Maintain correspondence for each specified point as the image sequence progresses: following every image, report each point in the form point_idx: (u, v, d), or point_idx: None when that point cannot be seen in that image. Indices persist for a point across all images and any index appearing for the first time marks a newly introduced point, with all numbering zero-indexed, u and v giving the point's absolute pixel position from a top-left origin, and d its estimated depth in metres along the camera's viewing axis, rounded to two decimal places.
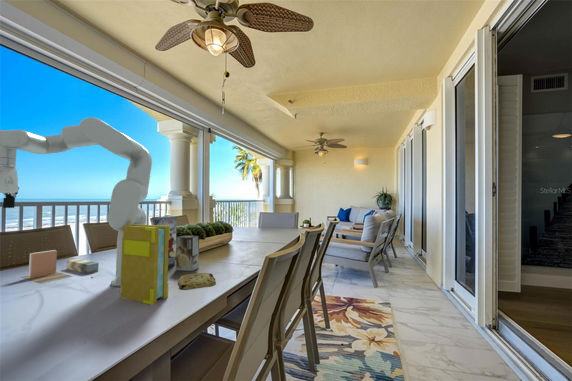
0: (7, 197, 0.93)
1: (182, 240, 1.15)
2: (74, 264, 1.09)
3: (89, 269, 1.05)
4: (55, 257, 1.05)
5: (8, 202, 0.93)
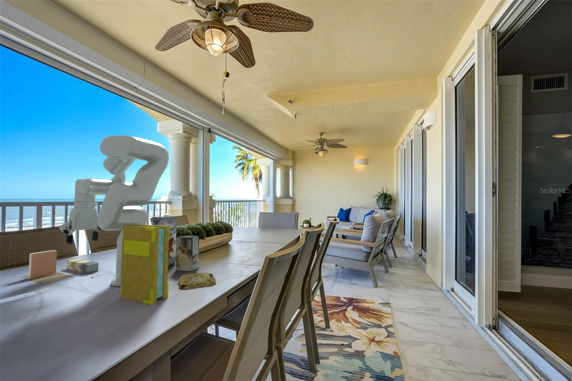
0: None
1: (182, 240, 1.15)
2: (74, 264, 1.09)
3: (89, 269, 1.05)
4: (55, 257, 1.05)
5: None
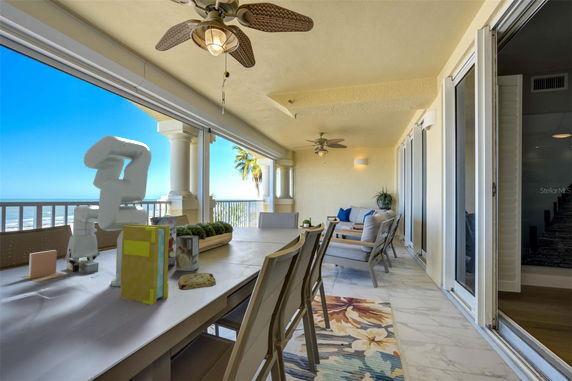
0: (77, 263, 1.08)
1: (182, 240, 1.15)
2: None
3: (89, 269, 1.05)
4: (55, 257, 1.05)
5: None
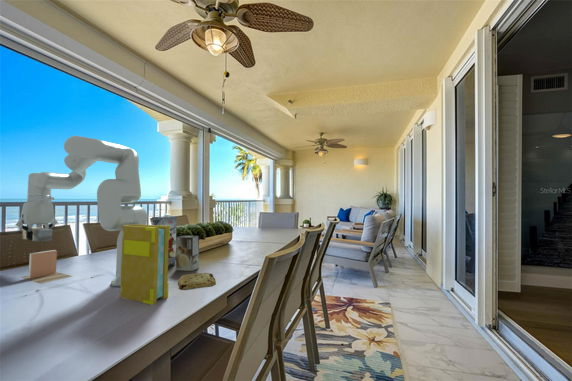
0: (31, 229, 1.07)
1: (182, 240, 1.15)
2: None
3: (41, 235, 1.04)
4: (55, 257, 1.05)
5: None
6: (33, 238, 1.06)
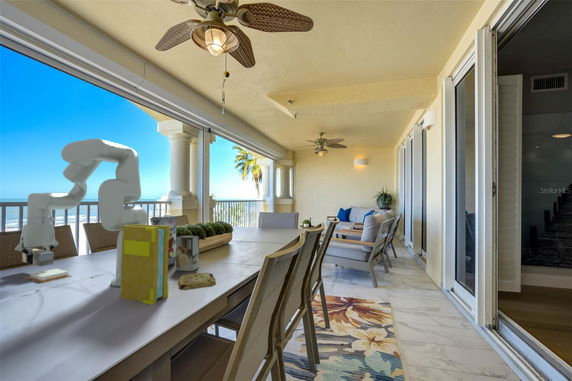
0: None
1: (182, 240, 1.15)
2: None
3: (42, 258, 1.00)
4: None
5: None
6: (33, 262, 1.02)
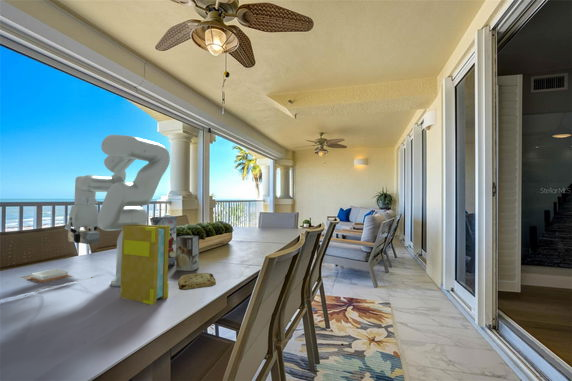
0: None
1: (182, 240, 1.15)
2: None
3: (90, 237, 1.05)
4: None
5: None
6: (81, 241, 1.08)
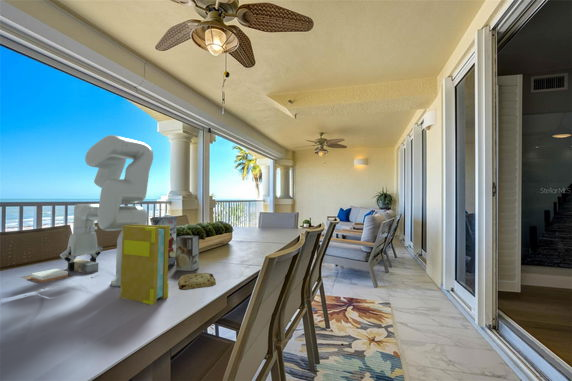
0: None
1: (182, 240, 1.15)
2: None
3: (89, 269, 1.05)
4: None
5: None
6: None
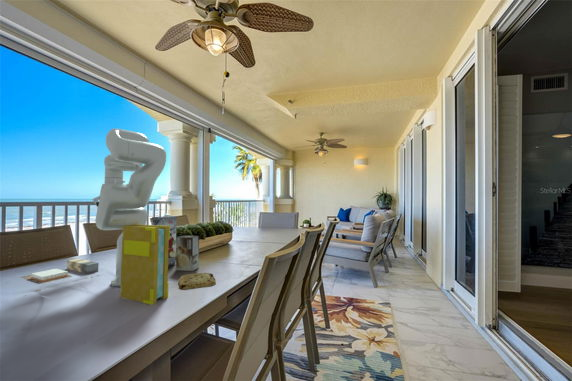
0: None
1: (182, 240, 1.15)
2: (74, 264, 1.09)
3: (89, 269, 1.05)
4: None
5: None
6: None
